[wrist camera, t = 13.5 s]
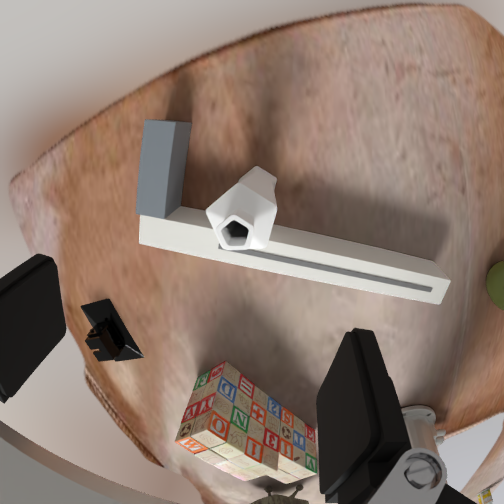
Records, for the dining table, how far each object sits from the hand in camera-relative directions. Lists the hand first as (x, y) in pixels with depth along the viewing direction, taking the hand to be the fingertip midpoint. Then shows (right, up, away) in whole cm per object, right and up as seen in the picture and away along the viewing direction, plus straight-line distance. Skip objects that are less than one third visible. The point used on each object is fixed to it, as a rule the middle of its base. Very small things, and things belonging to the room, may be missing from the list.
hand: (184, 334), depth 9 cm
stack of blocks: (+3, -21, +35) cm, 41 cm away
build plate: (-18, -9, +33) cm, 39 cm away
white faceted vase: (+3, +9, +22) cm, 25 cm away
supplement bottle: (+89, -88, +53) cm, 136 cm away
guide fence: (+8, +7, +22) cm, 25 cm away
